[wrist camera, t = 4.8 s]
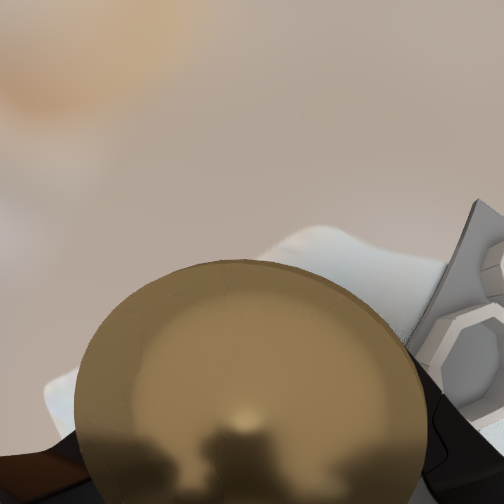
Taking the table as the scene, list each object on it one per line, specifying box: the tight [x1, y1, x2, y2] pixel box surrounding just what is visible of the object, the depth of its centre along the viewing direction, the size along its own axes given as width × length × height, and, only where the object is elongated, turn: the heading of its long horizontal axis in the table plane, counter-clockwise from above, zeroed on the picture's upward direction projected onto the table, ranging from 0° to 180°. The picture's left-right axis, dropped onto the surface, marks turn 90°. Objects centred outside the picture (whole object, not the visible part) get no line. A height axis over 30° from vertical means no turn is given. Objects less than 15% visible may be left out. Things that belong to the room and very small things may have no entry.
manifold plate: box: [406, 199, 504, 432], centre depth 16 cm, size 16×9×4 cm, turn 146°
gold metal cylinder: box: [74, 259, 427, 504], centre depth 9 cm, size 5×5×12 cm
